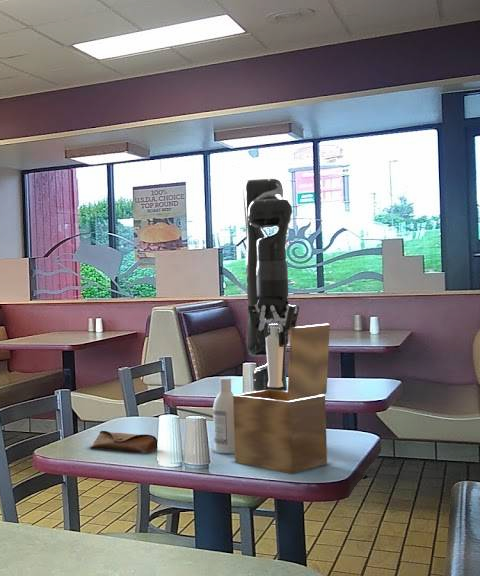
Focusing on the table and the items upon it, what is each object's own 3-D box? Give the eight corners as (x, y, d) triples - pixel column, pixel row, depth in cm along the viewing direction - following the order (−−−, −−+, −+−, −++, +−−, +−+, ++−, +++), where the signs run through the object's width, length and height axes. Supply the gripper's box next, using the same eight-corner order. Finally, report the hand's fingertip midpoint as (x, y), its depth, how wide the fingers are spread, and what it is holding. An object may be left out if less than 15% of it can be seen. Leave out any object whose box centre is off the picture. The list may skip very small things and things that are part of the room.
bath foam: (236, 448, 228) (234, 376, 228) (244, 453, 221) (241, 379, 221) (211, 449, 228) (209, 377, 228) (218, 454, 221) (215, 380, 221)
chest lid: (290, 327, 196) (293, 328, 196) (326, 323, 205) (329, 324, 204) (287, 399, 198) (290, 400, 197) (323, 393, 206) (326, 393, 205)
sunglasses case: (87, 447, 234) (91, 425, 237) (96, 455, 239) (101, 433, 242) (147, 452, 224) (151, 429, 227) (155, 461, 229) (159, 438, 232)
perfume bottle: (286, 387, 205) (285, 327, 204) (267, 387, 206) (266, 327, 205) (283, 384, 209) (282, 326, 209) (265, 384, 210) (264, 326, 210)
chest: (235, 462, 212) (233, 395, 211) (271, 453, 220) (269, 389, 220) (291, 473, 198) (288, 401, 198) (327, 464, 206) (325, 395, 206)
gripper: (306, 277, 203) (308, 346, 204) (257, 278, 215) (260, 343, 215) (287, 278, 199) (289, 348, 199) (239, 279, 211) (241, 345, 211)
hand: (274, 345), depth 207 cm, fingers closed on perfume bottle, 4 cm apart
